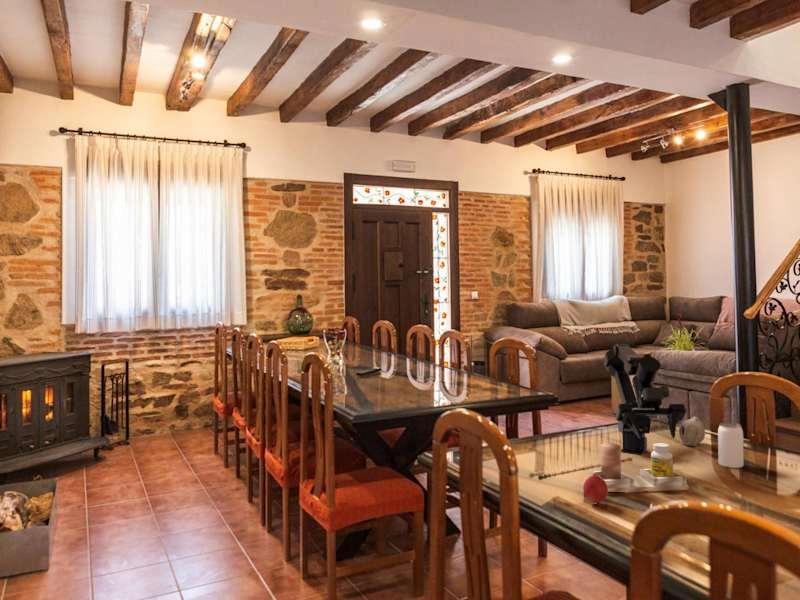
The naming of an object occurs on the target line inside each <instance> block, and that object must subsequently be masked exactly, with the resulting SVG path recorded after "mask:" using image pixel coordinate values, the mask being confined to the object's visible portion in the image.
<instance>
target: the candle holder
mask: <svg viewBox="0 0 800 600" xmlns="http://www.w3.org/2000/svg"><path fill="white" fill-rule="evenodd" d="M621 449H622V447H621V445H620V444H619V443H613V442H606V443H605V442H604V443H601V444H600V470H590V471H589V477H590V476H592V475H593V474H594V473H597V474H598V476H599V477H601V478H602V479H603V480H604V481H605V483H606V485H607V488H608V492H624V491H626V492H625V493H645V492H644V491H648V492H665V491H669V490H670V491H685V490H686V491H687V490H689V484H688V483H687V477H686V476H685V475H683V474H681V473H680V472H678V471H676V470H674V469H673V477H655V476H653V475H652V474H651V468H639V475H635V476H633V475H632V476H630V475H628V474H627V473H625V472H624V471H622V461H621V460H622V459H621V456H622V455H621V454H622V451H621ZM670 491H669V492H670Z"/></svg>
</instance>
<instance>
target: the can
mask: <svg viewBox="0 0 800 600" xmlns="http://www.w3.org/2000/svg"><path fill="white" fill-rule="evenodd" d="M717 449H718V452H717V454H718V455H717V458H718V464H719V466H721V467H723V468H727V467H728V469H741V468H743V467H744V430H743V428H742V425H741V424H740V423H734V422H721V423H719V426H718V429H717Z"/></svg>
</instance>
